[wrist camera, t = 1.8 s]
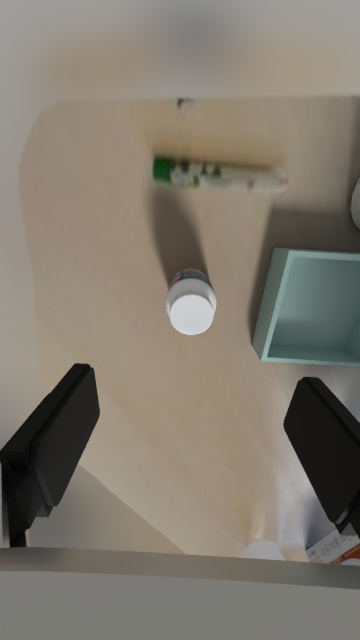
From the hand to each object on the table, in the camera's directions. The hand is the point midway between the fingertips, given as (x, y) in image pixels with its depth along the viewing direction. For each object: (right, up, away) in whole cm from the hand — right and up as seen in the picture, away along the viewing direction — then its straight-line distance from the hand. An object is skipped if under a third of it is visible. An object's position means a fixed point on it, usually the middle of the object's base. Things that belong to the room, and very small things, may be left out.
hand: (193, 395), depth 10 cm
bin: (+17, +6, +17) cm, 25 cm away
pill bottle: (+1, +8, +17) cm, 19 cm away
